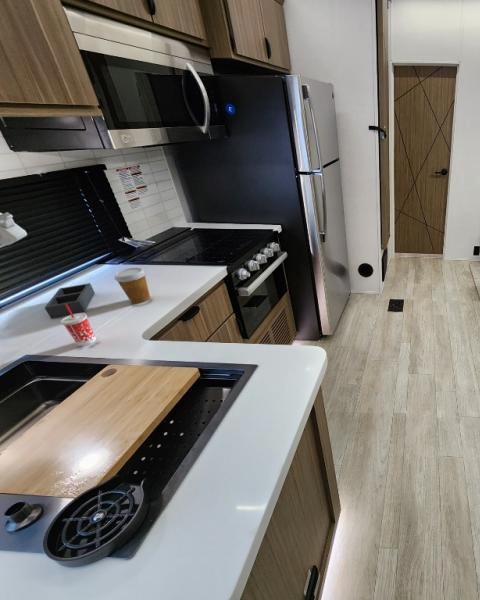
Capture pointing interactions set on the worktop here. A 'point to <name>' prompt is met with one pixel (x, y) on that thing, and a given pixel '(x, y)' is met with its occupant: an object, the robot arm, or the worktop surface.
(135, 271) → the disposable coffee cup
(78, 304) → the box
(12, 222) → the robot arm
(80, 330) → the beverage cup
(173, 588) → the worktop surface
